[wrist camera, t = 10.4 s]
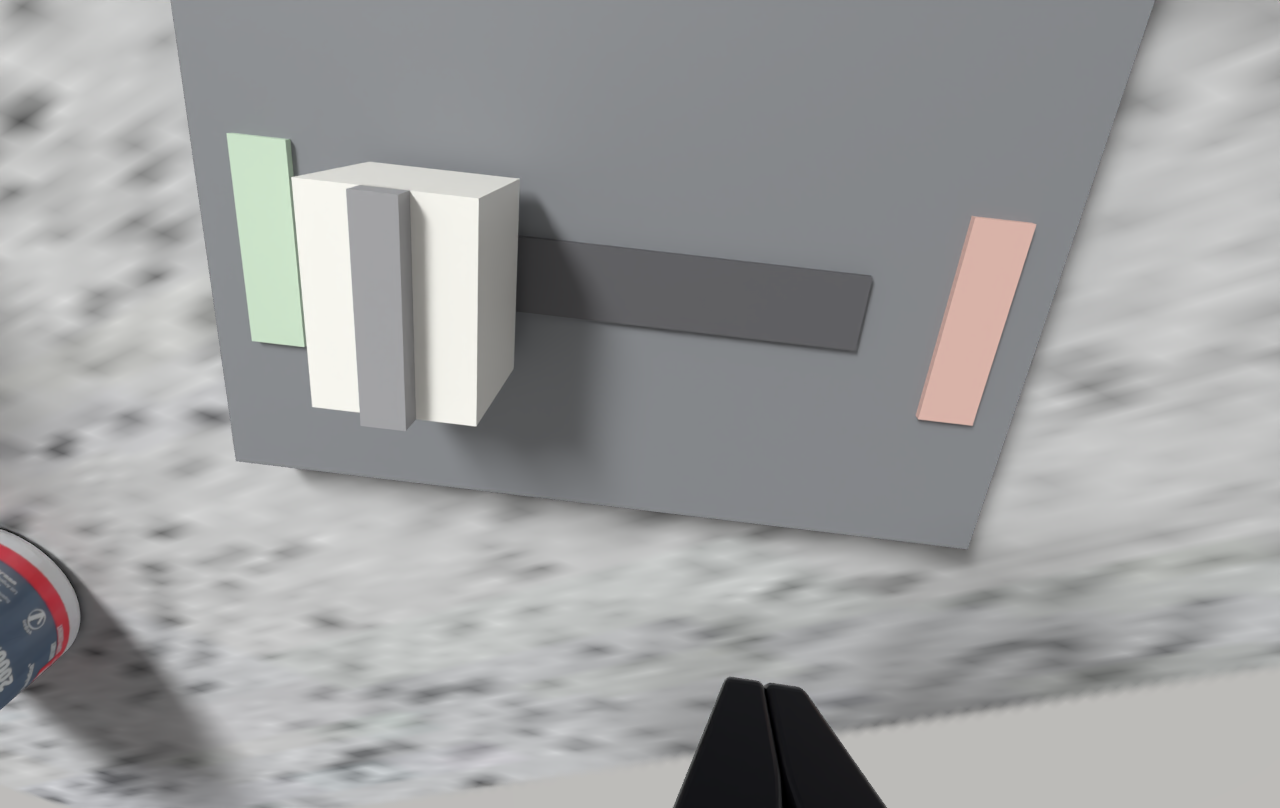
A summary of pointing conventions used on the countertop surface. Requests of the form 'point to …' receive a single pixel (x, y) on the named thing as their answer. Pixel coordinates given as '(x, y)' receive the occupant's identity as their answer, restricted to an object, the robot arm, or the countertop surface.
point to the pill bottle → (31, 614)
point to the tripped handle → (407, 290)
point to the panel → (681, 234)
